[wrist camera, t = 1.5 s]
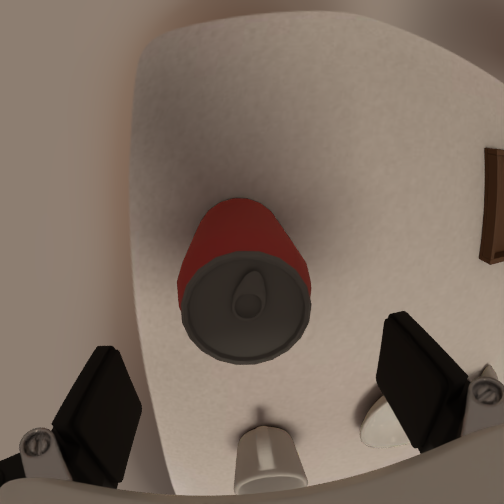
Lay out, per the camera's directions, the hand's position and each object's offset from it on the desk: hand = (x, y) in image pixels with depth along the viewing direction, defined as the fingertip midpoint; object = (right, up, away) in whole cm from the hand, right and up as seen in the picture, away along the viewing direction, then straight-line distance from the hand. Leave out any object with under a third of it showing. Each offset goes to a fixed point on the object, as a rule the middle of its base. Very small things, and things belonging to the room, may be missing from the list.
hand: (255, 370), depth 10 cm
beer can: (-1, +5, +14) cm, 15 cm away
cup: (+1, -18, +22) cm, 28 cm away
